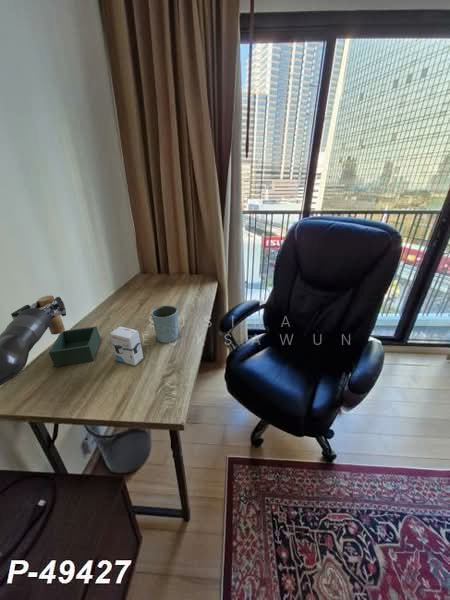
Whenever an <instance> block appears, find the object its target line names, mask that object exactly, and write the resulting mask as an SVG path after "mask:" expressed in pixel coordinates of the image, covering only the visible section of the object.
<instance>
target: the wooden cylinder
mask: <svg viewBox="0 0 450 600" xmlns="http://www.w3.org/2000/svg"><path fill="white" fill-rule="evenodd" d="M54 300H55V297H54V296H53V295H45V296H42V297H39V298H38V300H37V301H39V304H40V306H41V307H44V306H45V305H47V304H51V303H52V302H53V301H54ZM54 308H55V307H54ZM48 330H49V332H50V335H53V336H54V335H59V334H60V333H62V332H63V331H66V328H65V325H64V322H63V319H62V316H61V315H56V316H55V317H54V318H53V319H51V322H50V325H49V327H48Z"/></svg>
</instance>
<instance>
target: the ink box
mask: <svg viewBox="0 0 450 600" xmlns="http://www.w3.org/2000/svg"><path fill="white" fill-rule="evenodd" d="M109 336H110V340H111V344H112V348H113V352H114V355H115V360H116V361H117V362H121V363H125V364H128V365H131V366H134V367H135V366H136V365H138V364H139V363H140V362H141V361H142V360H143V359H144V354H143V353H144V352H143V348H142V344H141V343H142V342H141V339H140V333H139V331H138V330H137V329H132V328H129V327H124V326H118V327H117V328H115V329H114V330H112V331H111V332H110V333H109Z"/></svg>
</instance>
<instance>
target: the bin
mask: <svg viewBox="0 0 450 600" xmlns="http://www.w3.org/2000/svg"><path fill="white" fill-rule="evenodd" d="M100 342H101V337H100V333H99V330H98V326H89V327H82V328H81V327H80V328H73V329H65V330H64V331H63V332H62V333H60V334H58V335H57V338H56V339H55V341H54V343H53V345H52V347H51V348H50V349H49V351H48V354H49V357H50V359H51V362H52V364H53V367H54V368H56V367H63V366H69V365H75V364H82V363H87V362H88V363H89V362H94V360H95V357H96V355H97V352H98V348H99V345H100Z"/></svg>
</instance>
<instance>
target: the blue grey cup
mask: <svg viewBox="0 0 450 600" xmlns="http://www.w3.org/2000/svg"><path fill="white" fill-rule="evenodd" d="M178 312H179V311H178V307H176V306H174V305H161V306H160V305H159V306H157V307H155V308H153V309H152V310H151V312H150V315H151V319H152V322H153V326H154V331H155V335H156V339H157V340H158V342H160V343H163V344H168V343H169V344H170V343H173V342H174V341H176V340H177V339H178V338H179V327H178V326H179V321H178Z"/></svg>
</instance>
